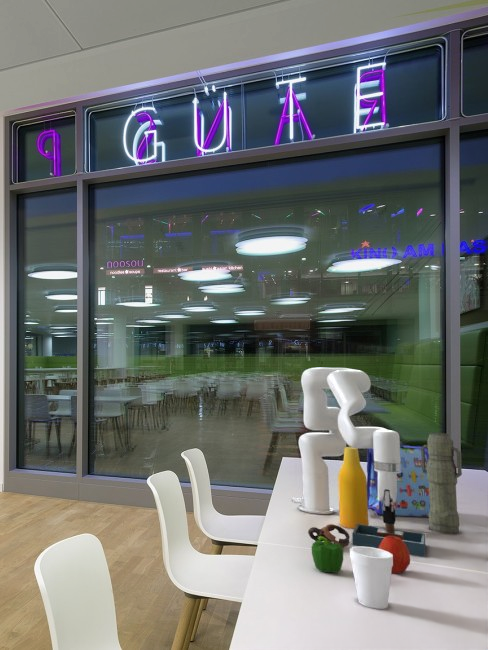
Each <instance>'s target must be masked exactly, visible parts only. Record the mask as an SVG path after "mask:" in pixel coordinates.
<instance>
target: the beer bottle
mask: <svg viewBox="0 0 488 650" xmlns="http://www.w3.org/2000/svg"><path fill="white" fill-rule="evenodd" d="M337 479H338V480H337V481H338V507H339V524H340V526H341V527H342V528H346V529H352V530H354V529H355V527H356V525H357V524H361V525H368V526H370V525H369V524H370V523H369V522H370V521H369V509H368V503H367V475H366V473H365V471H364V469H363V467H362V466H361V461H360V454H359V450H358V448H352V447H350V446H346V447H345V450H344V454H343V462H342V465H341V467H340V469H339V471H338V476H337Z"/></svg>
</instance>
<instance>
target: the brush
mask: <svg viewBox="0 0 488 650" xmlns="http://www.w3.org/2000/svg"><path fill="white" fill-rule="evenodd" d="M390 505H391V504H390ZM385 528H386V529H379V528H378V531H377V536H379V537H387V536H393V535H394V536H396V537H398V538H400V539H401V540H404V532H402V531H403V530H402V531H394V529H395V524H388V523H385Z"/></svg>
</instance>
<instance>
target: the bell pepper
mask: <svg viewBox="0 0 488 650" xmlns="http://www.w3.org/2000/svg"><path fill="white" fill-rule="evenodd" d="M318 539H319V540H317V541H314V542H313V543H312V545H311V554H312V559H313V563H314V566H315V568H316V570H318V571H319V572H323V573H335V574H337V573H340V571H341V569H342V567H343V562H344V548H342V547H341V545H339V544H334V543H333V542H330V541H327V539H326V538H325V537H322V536H319V537H318ZM321 539H323V540H324V541H320V540H321Z"/></svg>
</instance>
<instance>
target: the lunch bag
mask: <svg viewBox="0 0 488 650" xmlns="http://www.w3.org/2000/svg"><path fill="white" fill-rule="evenodd" d="M422 447H423V446H415V445H414V446H410V445H404V444H403V442H402V441H400V463H401V473H397V498H396V501H395V503H394V510H395V517H396V516H397V517H418V518H419V517H420V518H421V517H422V518H424V517H425V518H429V510H430V495H429V482H428V480H427V474H426V473H423V470H422V454H421V448H422ZM366 449H367V451H366V452H367V453H366V454H367V457H366V460H367V461H366V474H367V475H366V479H367V503H368V510H369V509H373V510H374V511H375V513H376V514H378V516H380V515H383V499H382V501H380V502H379V501H378V472H377V471H375V470H374V449H371V448H366ZM428 458H429V454H428V448H426V447H425V471H426V470H427V463H428Z"/></svg>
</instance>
